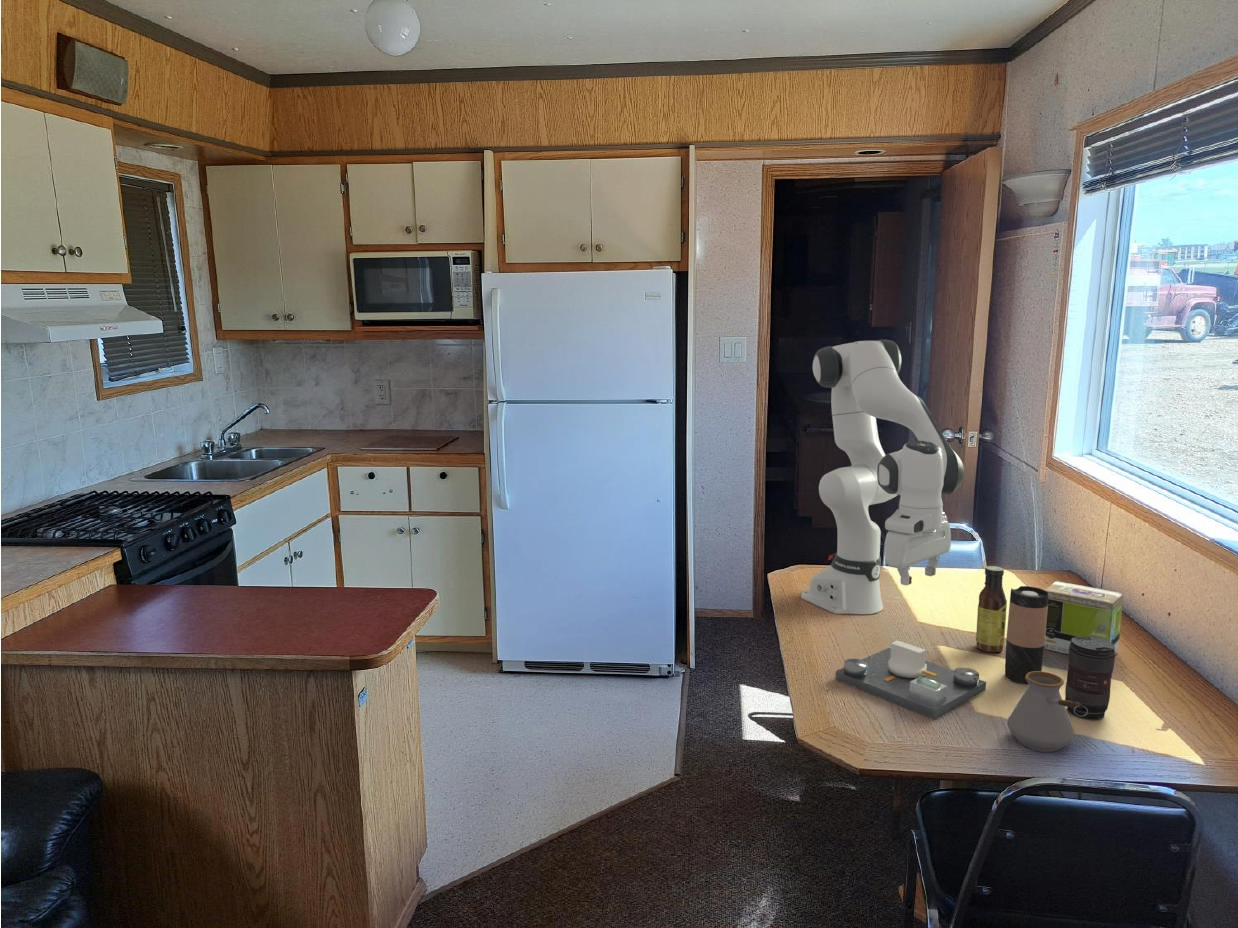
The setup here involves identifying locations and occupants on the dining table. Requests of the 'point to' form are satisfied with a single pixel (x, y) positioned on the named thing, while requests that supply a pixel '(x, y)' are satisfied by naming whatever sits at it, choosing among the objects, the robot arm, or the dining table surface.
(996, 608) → the sauce bottle
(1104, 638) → the tea box
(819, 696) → the dining table surface
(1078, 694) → the camera lens
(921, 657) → the knob
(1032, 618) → the travel mug
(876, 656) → the levelling base
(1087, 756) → the dining table surface
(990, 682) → the dining table surface
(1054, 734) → the coffee pot
